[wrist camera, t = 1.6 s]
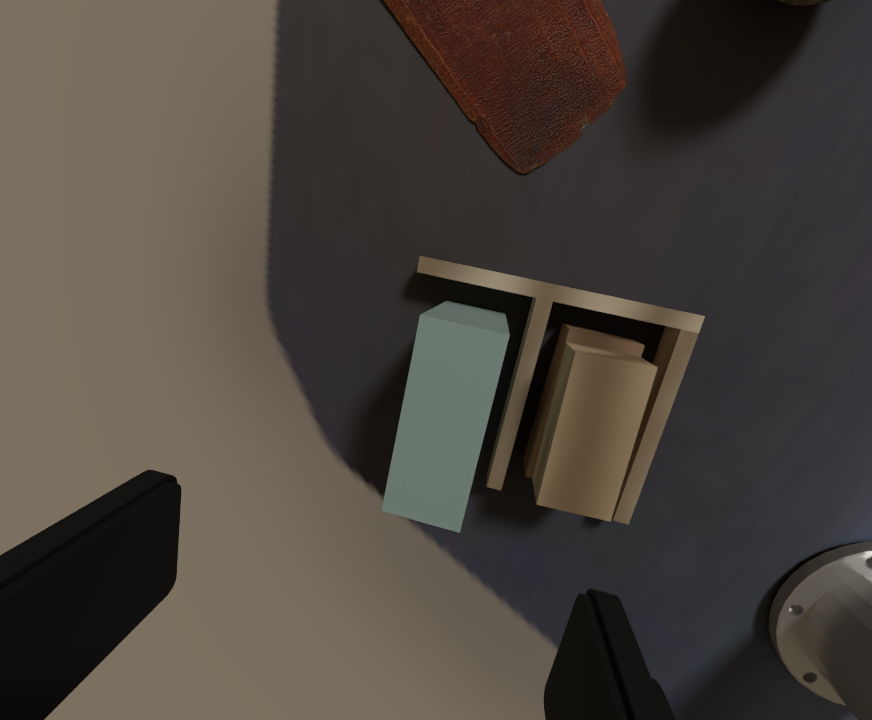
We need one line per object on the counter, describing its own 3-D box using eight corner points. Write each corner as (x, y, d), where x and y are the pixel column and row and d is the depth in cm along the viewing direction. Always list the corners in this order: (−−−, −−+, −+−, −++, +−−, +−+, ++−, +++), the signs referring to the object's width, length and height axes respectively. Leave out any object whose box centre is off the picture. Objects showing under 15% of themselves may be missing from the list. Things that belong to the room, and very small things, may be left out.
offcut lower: (628, 337, 26) (644, 345, 24) (584, 472, 29) (593, 494, 26) (561, 322, 27) (569, 328, 24) (523, 456, 29) (525, 476, 26)
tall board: (505, 313, 27) (509, 335, 17) (471, 447, 29) (459, 532, 20) (447, 300, 27) (420, 315, 18) (419, 433, 30) (381, 510, 20)
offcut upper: (638, 355, 24) (657, 367, 21) (597, 493, 26) (610, 521, 23) (565, 342, 24) (575, 351, 21) (532, 478, 26) (536, 504, 23)
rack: (687, 312, 25) (704, 316, 23) (618, 505, 29) (628, 524, 26) (425, 257, 27) (419, 255, 25) (389, 445, 30) (381, 458, 28)
